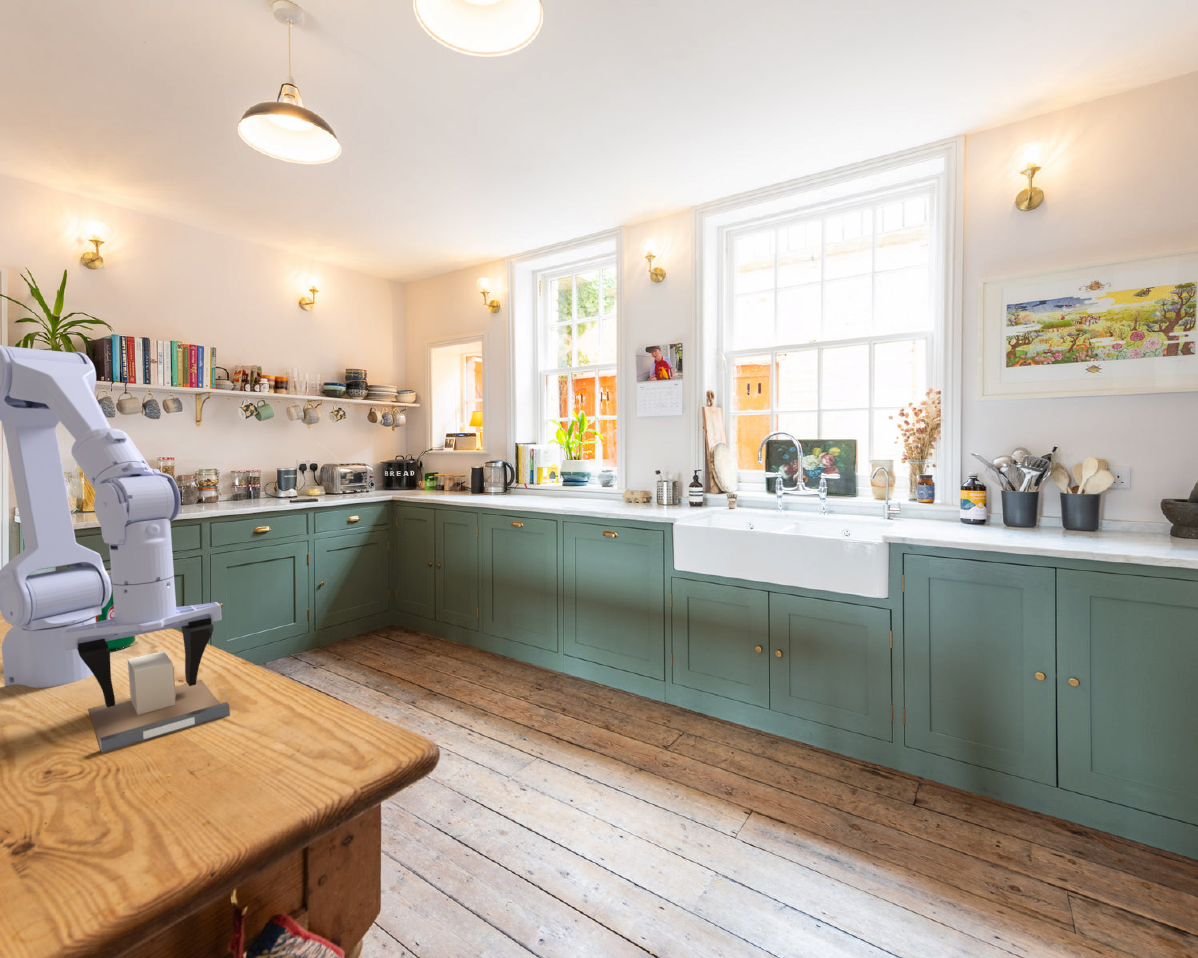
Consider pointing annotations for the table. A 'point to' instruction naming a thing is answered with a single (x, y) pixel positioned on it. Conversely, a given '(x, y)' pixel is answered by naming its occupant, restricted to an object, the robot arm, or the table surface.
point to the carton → (151, 682)
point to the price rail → (163, 727)
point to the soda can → (107, 614)
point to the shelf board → (127, 717)
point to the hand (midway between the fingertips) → (152, 693)
